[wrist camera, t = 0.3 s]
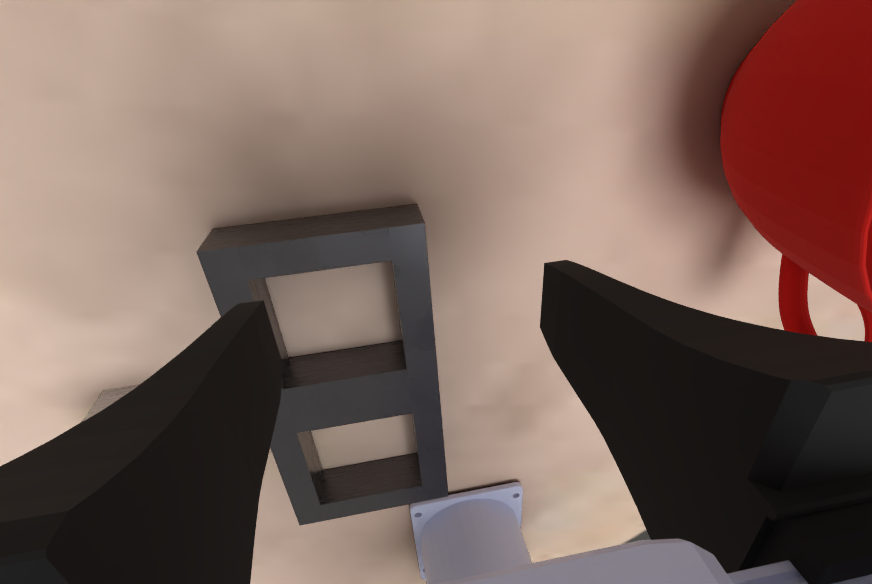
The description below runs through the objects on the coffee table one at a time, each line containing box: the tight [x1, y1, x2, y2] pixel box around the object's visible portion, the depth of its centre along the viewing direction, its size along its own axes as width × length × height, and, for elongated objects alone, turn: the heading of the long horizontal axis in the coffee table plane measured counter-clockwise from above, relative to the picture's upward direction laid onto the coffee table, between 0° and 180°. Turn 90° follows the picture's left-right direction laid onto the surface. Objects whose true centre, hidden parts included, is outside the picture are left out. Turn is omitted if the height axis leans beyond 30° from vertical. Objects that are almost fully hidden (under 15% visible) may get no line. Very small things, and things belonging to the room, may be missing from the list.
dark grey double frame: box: [197, 204, 448, 525], centre depth 24 cm, size 18×9×2 cm, turn 4°
